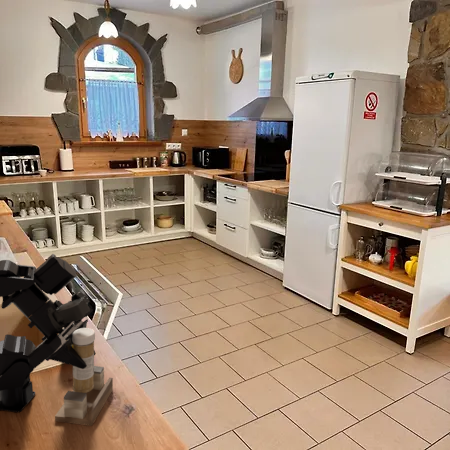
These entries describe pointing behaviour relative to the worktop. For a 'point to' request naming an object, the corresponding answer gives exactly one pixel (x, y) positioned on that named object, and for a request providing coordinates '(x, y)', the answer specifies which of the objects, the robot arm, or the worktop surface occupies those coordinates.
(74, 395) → the walnut spice rack
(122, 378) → the worktop surface
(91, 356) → the sprinkles bottle
